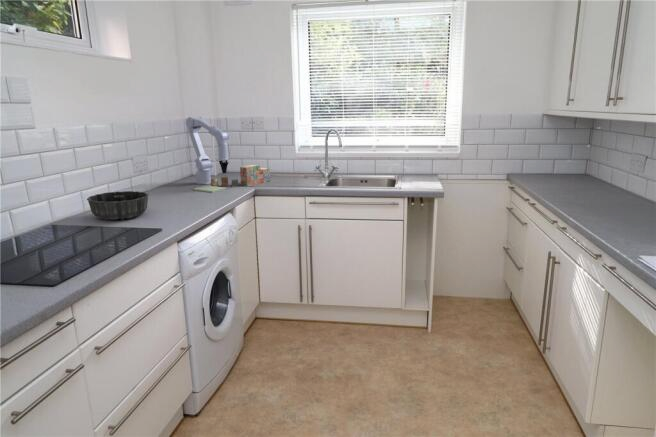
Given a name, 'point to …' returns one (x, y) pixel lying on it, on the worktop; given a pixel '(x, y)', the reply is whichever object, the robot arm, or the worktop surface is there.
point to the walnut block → (224, 181)
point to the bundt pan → (118, 204)
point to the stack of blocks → (254, 175)
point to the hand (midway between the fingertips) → (224, 172)
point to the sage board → (209, 188)
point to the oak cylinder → (214, 182)
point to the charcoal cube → (234, 182)
